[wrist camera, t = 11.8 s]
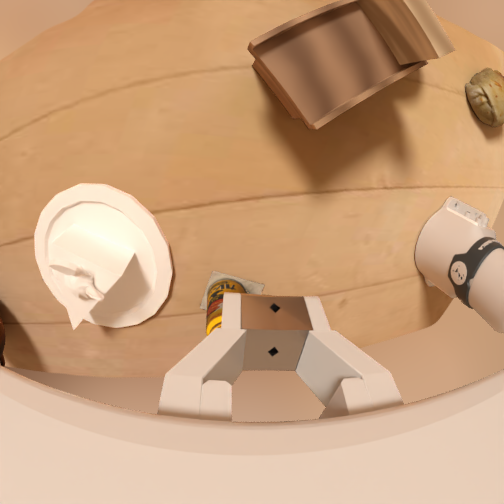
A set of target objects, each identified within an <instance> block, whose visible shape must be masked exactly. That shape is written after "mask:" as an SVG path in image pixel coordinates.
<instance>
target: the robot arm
mask: <svg viewBox="0 0 504 504" xmlns="http://www.w3.org/2000/svg"><path fill="white" fill-rule="evenodd" d="M488 221H489V218H487V217H486V214H484V213H483V212H481V211H479V210H478V209H476V208H474V207H472V206H470V205H468V204H466V203H464V202H462V201H460V200H458V199H456V198H454V197H452V196H451V197H449V198H448V199H447V200H446V202H445V203H444V205H443V206H442V208H441V209H440V210H439V211H437V212H436V213H435V214H434V215H433V216H432V217H431V218H430V219H429V220H428V221H427V223H426V224H425V226H424V227H423V229H422V231H421V233H420V235H419V238H418V241H417V245H416V250H415V261H416V265H417V268H418V270H419V271H420V272H421V273H422V274H423V275H424V278H425V282H426V284H427V285H428V286H429V287H432V286H436V287H438V288H439V289H440V290H442V291H443V292H444V293H446V294H447V295H448V296H450V297H451V298H455V297H458V298H459V299H460V300H461V302H462V303H463V304H465V305H466V306H468V307H469V308H471V309H474V310H475V311H476V312H477V313H478V314H479V315H480V316H481V317H482V318H483V319H484V320H485V321H486V322H487V323H488V324H489V325H490V326H491V327H492V328H493V329H494V330H495V331H497V332H499V333H504V247H503V246H502V244H501V243H500V242H498V241H497V240H496V234H495V231H494V230H493V229H491V228H490V227H488V226H487V224H488ZM242 370H284V371H285V370H286V371H296V373H297V374H298V375H299V377H300V378H301V379H302V380H303V381H304V383H305V384H306V385H307V386H308V387H309V388H310V389H311V391H312V392H313V393H314V394H315V395H316V396H317V397H318V399H319V400H320V401H321V402H322V403H323V404H324V405H325V407H326V408H325V410H324V411H323V413H322V414H321V416H320V417H319V419H315V420H302V421H284V422H232V389H231V388H232V385H233V383H234V382H235V381H236V379H237V378H238V376H239V375H240V374H241V372H242ZM0 504H504V369H503V370H501V371H499V372H497V373H494V374H492V375H490V376H488V377H485V378H483V379H480V380H478V381H476V382H473V383H471V384H468V385H465V386H463V387H460V388H457V389H454V390H452V391H449V392H446V393H442V394H439V395H437V396H433V397H430V398H427V399H423V400H419V401H416V402H412V403H408V404H404V403H403V401H402V398H401V396H400V394H399V391H398V389H397V387H396V384H395V382H394V380H393V377H392V375H391V373H390V372H389V371H388V370H387V369H385V368H384V367H383V366H382V365H380V364H379V363H378V362H376V361H375V360H373V359H372V358H371V357H370V356H368V355H367V354H366V353H364V352H363V351H361V350H360V349H359V348H358V347H357V346H355V345H354V344H353V343H351V342H350V341H349V340H347V339H346V338H345V337H343V336H342V335H341V334H340V333H338V332H337V331H336V330H335V331H331V328H330V325H329V323H328V320H327V317H326V315H325V312H324V309H323V306H322V304H321V301H320V298H319V297H318V296H302V297H298V296H272V295H259V294H245V293H241V294H240V293H229V292H224V297H223V310H222V323H221V328H216V329H215V330H213V331H212V332H211V333H210V334H209V335H208V336H207V337H206V338H205V339H204V340H203V341H202V342H200V343H199V344H198V345H197V346H196V347H195V348H194V349H193V350H192V351H191V352H190V353H188V354H187V355H186V356H185V357H184V358H183V359H182V360H181V361H180V362H178V363H177V364H176V365H175V366H174V367H173V368H172V369H171V370H170V371H168V372H167V373H166V374H165V379H164V384H163V388H162V393H161V398H160V403H159V408H158V413H157V414H152V413H146V412H140V411H136V410H131V409H126V408H121V407H116V406H113V405H109V404H105V403H101V402H97V401H93V400H90V399H86V398H83V397H79V396H76V395H73V394H69V393H67V392H64V391H61V390H58V389H55V388H52V387H50V386H47V385H44V384H41V383H39V382H37V381H34V380H32V379H29V378H27V377H24V376H22V375H20V374H18V373H15V372H13V371H11V370H9V369H7V368H5V367H3V366H1V365H0Z"/></svg>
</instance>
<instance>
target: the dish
mask: <svg viewBox="0 0 504 504" xmlns="http://www.w3.org/2000/svg"><path fill="white" fill-rule="evenodd" d="M35 257H36V260H37V263H38V266H39V269H40V272H41V275H42V278H43V280H44V281H45V283H46V284H47V286H48V287H49V289H50V290H51V292H52V293H53V295H54V296H55V297H56V299H57V300H58V301H59V302H60V303H62V304H63V305H64V306H65V307H66V308H67V311H68V314H69V317H70V321H71V324H72V327H73V330H74V329H75V328H76V327H77V326H78V325H79V323H80V322H81V321H82V320H83V319H85V320H87V321H89V322H91V323H93V324H96V325H102V326H108V327H115V328H119V327H125V326H131V325H137V324H139V323H141V322H142V321H144V320H146V319H147V318H149V317H151V316H152V315H154V314H155V313H156V312H157V310H158V309H159V308H160V306H161V305H162V303H163V302H164V301H165V299H166V298H167V296H168V292H169V287H170V282H171V278H172V273H173V266H172V260H171V254H170V248H169V243H168V241H167V239H166V237H165V235H164V233H163V232H162V230H161V228H160V226H159V224H158V222H157V220H156V218H155V217H154V216H153V215H152V214H151V213H150V212H149V211H148V210H147V209H146V208H145V207H144V206H143V205H142V204H141V203H139V202H138V201H137V200H136V199H135V198H134V197H133V196H132V195H129V194H127V193H125V192H123V191H120V190H118V189H116V188H114V187H111V186H109V185H107V184H78V185H76V186H74V187H71V188H69V189H67V190H65V191H63V192H60V193H58V194H56V195H55V196H54V198H53V199H52V200H51V201H50V202H49V203H48V205H47V206H46V207H45V208H44V209H43V211H42V212H41V215H40V218H39V221H38V224H37V227H36V231H35Z"/></svg>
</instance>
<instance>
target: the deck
mask: <svg viewBox="0 0 504 504" xmlns="http://www.w3.org/2000/svg"><path fill="white" fill-rule="evenodd" d="M357 1H359V0H340V1H337V2H335V3H332V4H329V5H326V6H324V7H321V8H319V9H316V10H314V11H311V12H309V13H307V14H304V15H302V16H300V17H297V18H295V19H293V20H291V21H289V22H287V23H285V24H283V25H281V26H278V27H276V28H275V29H273V30H271V31H269V32H267V33H265V34H263V35H261V36H259V37H258V38H256V39H254V40H252V41H250V43H249V46H248V51H249V52H250V53H251V54H252V55H253V56H254V58H255V61H254V63H253V65H252V66H253V68H254V69H255V70H256V71H257V72H258V74H259V75H260V76H261V77H262V79H263V80H264V81H265V82H266V84H267V85H268V86H269V87H270V89H271V90H272V91H273V93H274V94H275V95H276V97H277V98H278V99H279V101H280V102H281V103H282V105H283V106H284V107H285V109H286V110H287V111H288V113H289V114H290V116H291V117H292V118H293V119H297V118H301V119H302V120H303V122H304V123H305V125H306V126H307V128H308V129H316V130H317V129H319V128H320V127H322V126H323V125H325V124H326V123H328V122H329V121H331V120H332V119H334V118H336V117H337V116H339V115H340V114H342V113H343V112H345V111H347V110H348V109H350V108H351V107H353V106H355V105H356V104H358V103H360V102H361V101H363V100H365V99H366V98H368V97H370V96H371V95H373V94H375V93H376V92H378V91H380V90H381V89H383V88H385V87H387V86H388V85H390V84H392V83H394V82H395V81H397V80H399V79H401V78H402V77H404V76H406V75H408V74H410V73H412V72H413V71H415V70H417V69H419V68H421V67H423V66H425V65H427V64H428V62H427V60H424V61H418V62H413V63H407V64H403V65H400V64H399V62H398V61H397V59H396V57H395V56H394V54H393V53H392V51H391V49H390V48H389V46H388V45H387V43H386V42H385V40H384V39H383V37H382V36H381V34H380V33H379V31H378V30H377V28H376V27H375V26H374V24H373V23H372V22H371V20H370V19H369V18H368V16H367V15H366V14H365V12H364V11H363V10H362V8H361V7H360V6H359V5H358V3H357Z"/></svg>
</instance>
